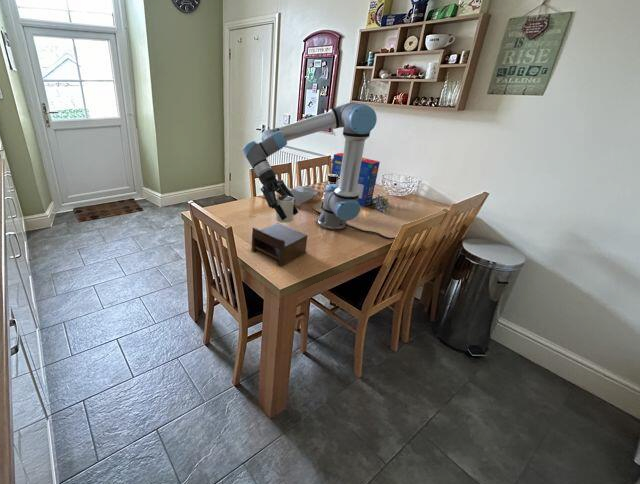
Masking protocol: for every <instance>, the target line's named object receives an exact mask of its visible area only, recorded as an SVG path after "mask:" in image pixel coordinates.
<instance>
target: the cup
mask: <svg viewBox="0 0 640 484" xmlns="http://www.w3.org/2000/svg"><path fill="white" fill-rule="evenodd" d="M276 200H277V204H278V205H280V206H281V208H282V210H283V211H284V213H285V215H286V217H287V218H285V219H284V220H282V219H281V218H280V216H279V214H277V212H276V211H275V221H277V222H278V223H284V224H288V223H291V222H292V221H293V219H294V215H293V208H294V204H295V199H294V198H293V197H290V196H281V195H279V196H276ZM278 205H277V206H278Z"/></svg>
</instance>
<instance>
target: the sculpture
mask: <svg viewBox="0 0 640 484" xmlns="http://www.w3.org/2000/svg"><path fill="white" fill-rule="evenodd" d="M288 189H289V191H290V192H291V193H292V195H293V196H294V202H295V203H296V205H297V207H298V208H300V205H302V204H304V203H306V202H308V201H309V200H313V199H314V198H315V196H316V195H319V197H320V198H322V197H321V194H320V191H318V190H317V189H315V188H313V187H312V186H304V185H296V186H294V188H288ZM290 197H291V196H290Z"/></svg>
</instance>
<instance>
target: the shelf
mask: <svg viewBox="0 0 640 484" xmlns="http://www.w3.org/2000/svg"><path fill="white" fill-rule="evenodd" d="M251 232H252V233H251V251H252V252H253V253H255V252H256V251H259V252H261V253H263V254H266V255H267V256H270V257H271V258H273V259H276V260H278V266H280V267H282V266H283V265H286V264H287V263H290V262H291V261H293V260H294V259H296V258H298V257H300V256H301V255H303V254H305V253H306V252H307V244H308V234H306V233H303V232H301V231H298V230H296V229H294V228H291V227H289V226H287V225H284V224H281V223H280V222H276V223H273V224H271V225H269V226H266V227H264V228H261V229H259V228H258V227H255V226H254V227H252V231H251Z"/></svg>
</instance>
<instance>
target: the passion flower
mask: <svg viewBox="0 0 640 484" xmlns="http://www.w3.org/2000/svg"><path fill="white" fill-rule="evenodd" d="M388 200H389V199H388V198H386V197H385V196H384V195H380V194H379V193H377V197H374V198H372V203H371V204H370V205H372V207H375V209H376V210H378V211H379V213H381V212H382V213H385V211H386V210H387V211H388V209H389V205H390V202H389V201H388Z"/></svg>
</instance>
